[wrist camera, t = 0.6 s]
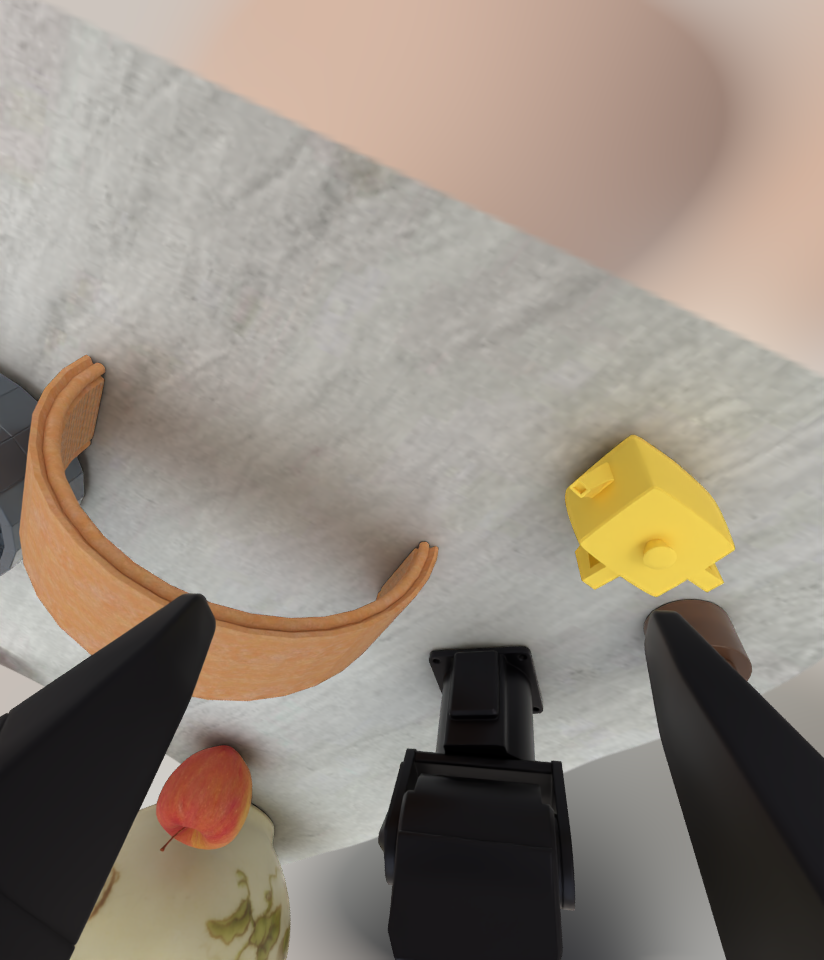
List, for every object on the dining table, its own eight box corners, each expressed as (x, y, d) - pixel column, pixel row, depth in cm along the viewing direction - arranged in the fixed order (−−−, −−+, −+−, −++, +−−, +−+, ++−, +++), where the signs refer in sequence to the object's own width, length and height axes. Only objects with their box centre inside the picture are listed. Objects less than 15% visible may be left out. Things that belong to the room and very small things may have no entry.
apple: (265, 780, 47) (226, 884, 40) (190, 760, 47) (139, 860, 40) (269, 743, 42) (226, 852, 36) (187, 720, 42) (129, 826, 36)
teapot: (512, 482, 24) (514, 554, 20) (604, 397, 21) (629, 460, 17) (629, 565, 26) (653, 647, 22) (729, 498, 23) (781, 578, 19)
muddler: (727, 649, 28) (832, 886, 19) (644, 653, 29) (706, 877, 20) (732, 595, 26) (853, 835, 17) (641, 602, 27) (710, 828, 18)
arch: (388, 604, 30) (347, 774, 22) (70, 438, 27) (-120, 568, 18) (439, 548, 27) (413, 722, 19) (86, 351, 23) (-136, 461, 15)
